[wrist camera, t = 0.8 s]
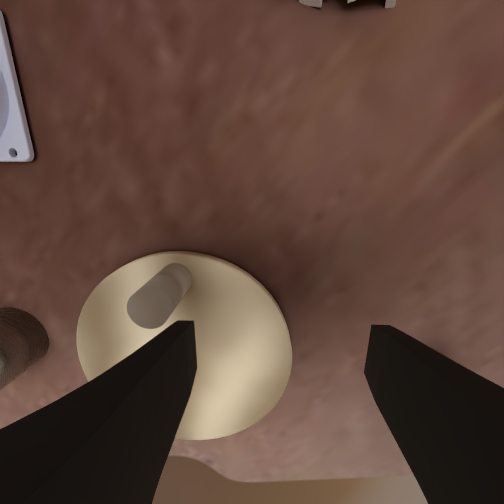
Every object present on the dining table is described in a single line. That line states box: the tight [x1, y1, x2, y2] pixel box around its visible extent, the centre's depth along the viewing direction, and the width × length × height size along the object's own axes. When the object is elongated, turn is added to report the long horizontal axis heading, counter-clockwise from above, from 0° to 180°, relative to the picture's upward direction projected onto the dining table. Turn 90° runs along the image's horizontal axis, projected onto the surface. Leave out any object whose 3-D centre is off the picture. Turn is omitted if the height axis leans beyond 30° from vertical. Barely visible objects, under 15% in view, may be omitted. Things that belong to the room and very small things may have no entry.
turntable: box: [77, 251, 292, 440], centre depth 15 cm, size 15×15×5 cm
